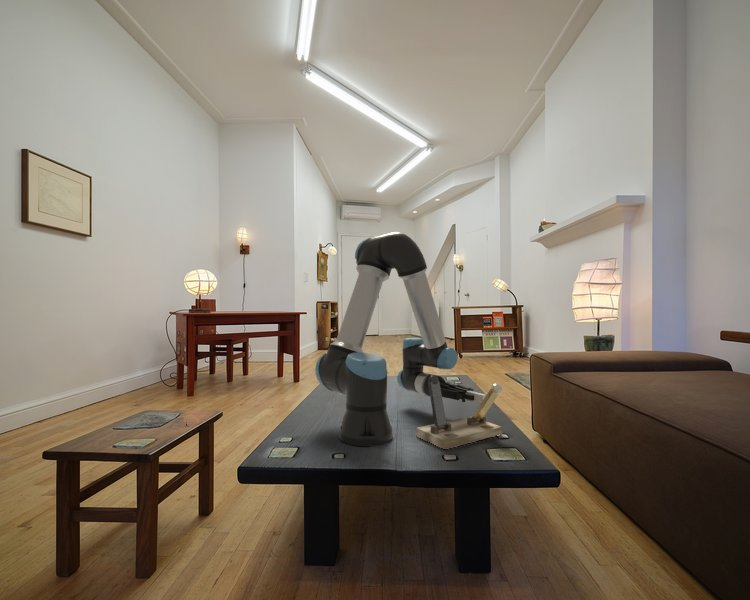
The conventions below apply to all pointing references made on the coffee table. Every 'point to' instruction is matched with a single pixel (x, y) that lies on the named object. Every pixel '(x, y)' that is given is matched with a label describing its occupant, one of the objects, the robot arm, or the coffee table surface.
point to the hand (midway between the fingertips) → (484, 399)
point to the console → (458, 432)
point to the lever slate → (437, 402)
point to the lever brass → (487, 402)
